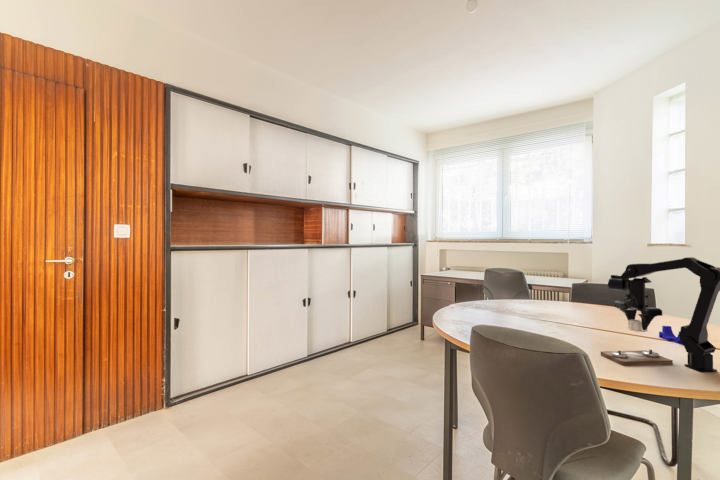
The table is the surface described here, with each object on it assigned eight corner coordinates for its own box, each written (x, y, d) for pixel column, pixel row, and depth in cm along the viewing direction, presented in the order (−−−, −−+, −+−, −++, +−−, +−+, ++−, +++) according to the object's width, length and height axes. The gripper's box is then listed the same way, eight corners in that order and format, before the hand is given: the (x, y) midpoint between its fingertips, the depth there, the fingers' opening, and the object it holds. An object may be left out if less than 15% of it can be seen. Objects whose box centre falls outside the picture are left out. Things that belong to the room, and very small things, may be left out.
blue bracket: (659, 337, 168) (658, 325, 168) (669, 337, 167) (669, 325, 167) (677, 345, 156) (677, 332, 156) (688, 345, 155) (688, 332, 155)
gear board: (672, 364, 133) (672, 360, 133) (622, 365, 132) (622, 361, 132) (646, 353, 145) (646, 350, 145) (600, 354, 144) (600, 351, 144)
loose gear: (651, 331, 143) (651, 322, 143) (636, 332, 143) (636, 322, 143) (639, 328, 150) (638, 318, 150) (624, 328, 150) (624, 319, 150)
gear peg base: (662, 357, 136) (662, 352, 136) (618, 358, 136) (618, 353, 136) (651, 353, 141) (651, 347, 141) (608, 354, 141) (608, 348, 141)
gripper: (603, 289, 156) (604, 322, 156) (635, 296, 137) (636, 333, 137) (627, 289, 156) (627, 322, 156) (663, 295, 137) (664, 333, 137)
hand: (637, 327), depth 147 cm, fingers closed on loose gear, 6 cm apart
